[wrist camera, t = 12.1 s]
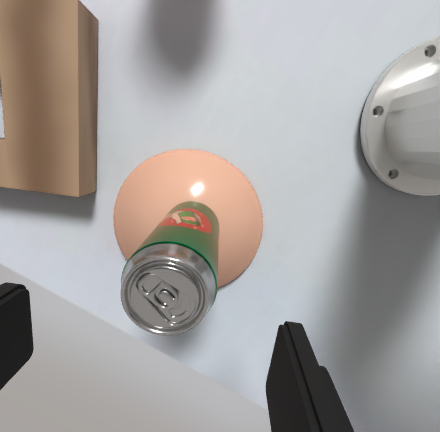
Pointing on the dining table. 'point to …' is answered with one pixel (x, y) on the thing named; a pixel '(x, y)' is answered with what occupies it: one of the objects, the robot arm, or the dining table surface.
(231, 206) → the peach domed disc
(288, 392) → the robot arm
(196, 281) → the soda can
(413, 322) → the dining table surface
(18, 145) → the pocket board
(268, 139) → the dining table surface
